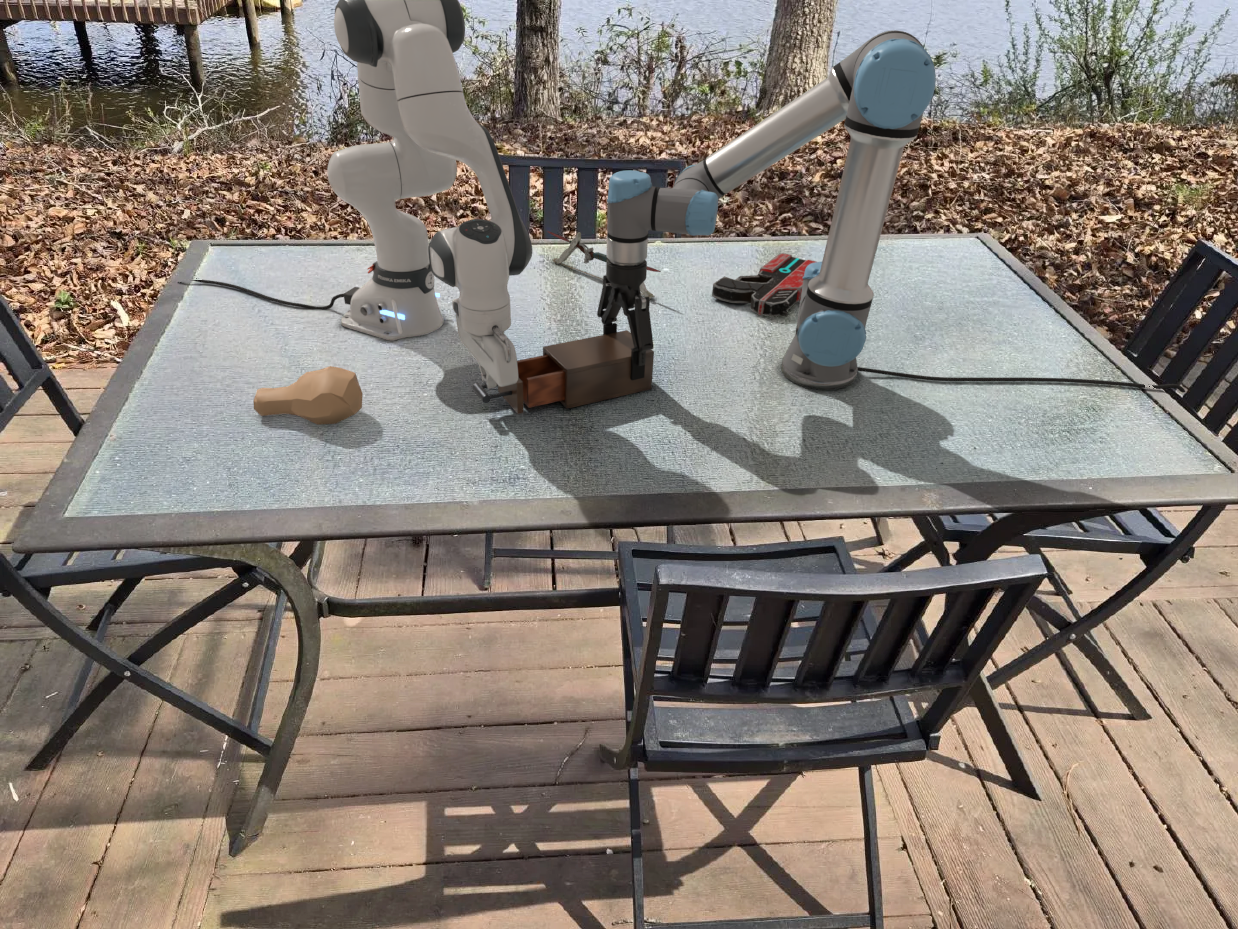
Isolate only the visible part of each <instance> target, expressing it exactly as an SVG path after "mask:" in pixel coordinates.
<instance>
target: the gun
mask: <svg viewBox="0 0 1238 929" xmlns="http://www.w3.org/2000/svg"><path fill="white" fill-rule="evenodd" d="M815 262H817V261H816V260H812V259H802V258H799V257H795V256H793V255H792V254H791V253H784V252H780V253H778V254H777V255H775V256H774V257H773V258H771V259H770V260H768V261H767V262H766V263H765V264H763V265H762V266H761V267H760V269H759V271H758V273H757V274H756V275H753V274H752V275H751V274H750V275H740V276H738V277H737V278H735V279H734V278H731V277H727V276H722V277H720V279H717V281H715V282H713V283H712V291H711V297H713V298H714V299H716V300H719V301H723V302H727V303H730V304H750V305H749V308H750V310H751V312H753V313H755V314H757V315H758V316H760V317H761V316H765V317H770V318H771V317H777V316H780V317H784V318H787V317H788V315H789V311H788V310H790V309H791V308H792V307H793V306H794V305H795V304H798V303H800V299H801V293H802V286H803V276H804V273H805V269H806V267H807V266H808V265H809V264H811V263H815Z"/></svg>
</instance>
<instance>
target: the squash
mask: <svg viewBox="0 0 1238 929" xmlns="http://www.w3.org/2000/svg"><path fill="white" fill-rule="evenodd" d="M255 392H256V393H255V394H254V398H253V400H252V401H253V410H254V411H255V412H256V413H257V414H259V416H261V417H263V416H264V417H265V416H273V415H292V416H298V417H299V418H302V419H304V420H306V421H308V422H311V423H313V424H315V425H317V426H319V425H337V424H339V423H340V422H342V421H345V420H346V419H349V418H350V417H352V416H354V415H356V414H357V413H358V412H359V411H360V410H361V409H362V408H363V391H362V388H361V386H360V383H359V380H358V377H357V373H356V372H354V371H352V370H348V369H345V368H343V367H337V366H332V365H329V366H326V367H323V368H320V369H317V370H312V371H311V370H310V371H306V372H305V373H303V374H302V375H300V376H298V379H297V380H296V381H295V382H293V383H291V384H289V385H288V386H280V387H273V388H272V387H260V388H257V389H256V391H255Z"/></svg>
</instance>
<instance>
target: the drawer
mask: <svg viewBox="0 0 1238 929" xmlns="http://www.w3.org/2000/svg"><path fill="white" fill-rule="evenodd" d="M517 365H518V381H517V383H515V384H512V385H508V386H503V387H500V386H498V385H497V386H496V387H497V392H498V393H494V394H493V393H492V394H489V393H488V392H487V391H486V389H488V387H487V386H486V385H485V384H480V383H479V382H476V383H473V384H472V386H471V389H472V392H474V394H476V396H477V397H478V399H479V400H480V401H481V402H482V403H483V404H489V403H490V402H491V401H492V400H494V399H499V398H503V399H504V400H505V401H506V402H507V404H508V405H509V406H510V407H511V408H512V410H514V412H515V413H516V414H517V415H519V414H524V412H525V410H524V409H525V408H524V404H525V405H526V407H527V408H528V409H530V408H534V407H539V406H544V405H548V404H552V403H557V402H560V401H562V400H565V371H564V370H563V369H562V368H561V367H560V366H558V365H557V364H556V363H555V362H554V361H553V360H552V359H551V358H550V357H549V356H548V355H543V354H542V355H538V356H533V357H528V358H523V359H519V360H518V359H517Z"/></svg>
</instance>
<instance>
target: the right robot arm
mask: <svg viewBox="0 0 1238 929" xmlns="http://www.w3.org/2000/svg"><path fill="white" fill-rule="evenodd" d="M936 83H937V75H936V69H935V65H934V62H933V60H932V58H931V56H930V54H929V53H928V51H927V50H926V49H925V48H924V45H923V44H922V42H921V41H920V40H919V39H918V38H917V37H915V35H913V34H911V33H909V32H907V31H904V30H897V29H896V30H895V29H893V30H887V31H882V32H880V33H878V34H875V35H873V36H872V37H871V38H870V39H868V40H867V41H865V42H864V43H863V44H862V45H860V46H859V47H857V49H856V50H854V51H853V52H851V53H850V54H849V55H847V56H846V57H845V58H843V59H842V60H841V61H839V62H838V63H836V64H835V65H833V66H832V67H831V68H830V72H829V74H828V77H827V78H824V79H823V80H822V81H820V82H819V83H817V84H816V85H814V86H813V87H811V88H809V89H808V90H807V91H805V92H804V93H802V94H800V95H799V96H798V97H796V98H794V99H793V100H792V101H790V102H788V103H787V104H785V105H784V106H783V107H780V108H779V109H778V110H776V111H775V112H774V113H772V114H771V115H769V116H767V117H766V118H764V119H763V120H761V121H760V122H758V123H756V124H755V125H754V126H752V127H750V128H749V129H748V130H746V131H745V132H742V134H740V135H739V136H737V137H735V138H734V139H733V140H731V141H730V142H728V143H727V144H725V145H723V146H722V147H721V148H719V149H717V150H716V151H715V152H713V153H711V154H710V155H708V156H707V157H706V158H704V159H703V160H701V161H699V162H698V163H696V164H691V165H688V166H687V167H685V168H684V169H683V170H682V171H680V173H679V174H678V176H677V177H676V178H675V180H674V184H673V186H672V187H661V186H660V187H659V186H655V185H654V186H653V183H652V177H651V176H650V174H648V173H646V172H644V171H639V170H634V169H633V170H631V169H630V170H620V171H617V172H615V173H613V174H612V175H611V176H610V177H609V179H608V180H609V182H608V193H607V199H606V203H607V204H606V205H607V216H606V218H607V223H606V224H607V227H606V228H607V230H606V231H607V232H606V253H605V255H606V257H607V258H608V259H607V261H606V262H605V263H606V264H605V274H604V275H603V276H602V279H603V280H602V289H601V292H600V293H601V294H600V297H599V303H598V306H597V307H598V309H597V311H596V315H597V317H598V318H601V324H602V325H603V327H602V335H605V334H610V333H616V332H618V324H617V322H618V321H619V320H618V318H617V317H618V315H619V313H620V311H621V309H622V312H623V315H624V316H625V317H626V318H627V322H628V323H627V324H628V327H629V332H630V333H631V336H632V340H633V344H634V348H632V349H631V374H630V379H631V380H637V379H641V378H644V374H645V361H646V351H647V350H654V338H653V331H652V321H651V313H650V303H651V299H650V298H649V297H645V296H643V295H642V292H641V291H640V285H641V284H642V283H643V282H644V283H645V281H646V279H647V273H648V272H647V271H648V270H647V266H648V261H647V260H646V259H647V258H648V245H649V231H652V232H663V233H672V234H681V235H690V236H693V237H696V236H711V235H713V233H714V232H715V231H716V226H717V225H716V224H717V218H718V212H719V211H718V209H719V200H720V199H721V198H723V197H724V196H726V195H727V194H728V193H730V192H732V191H733V190H735V189H736V188H738V187H740V186H741V185H743V184H744V183H746V182H748V181H749V180H751V179H752V178H754V177H756V176H757V175H759V174H760V173H762V172H764V171H765V170H767V169H769V168H770V167H771V166H773V165H775V164H776V163H779V161H781V160H782V159H784V158H786V157H787V156H789V155H791V154H792V153H794V152H795V151H797V150H799V149H800V148H802V147H804V146H805V145H807V144H808V143H810V142H811V141H813V140H815V139H817V138H818V137H819V136H821V135H823V134H824V133H826V132H828V131H829V130H830V129H832V128H833V127H835V126H837V125H838V124H840V123H842V122H843V121H844V125H843V126H844V129H845V130H846V132H847V133H848V134H849V136H850V142H849V144H848V149H847V153H846V158H845V162H844V166H843V171H842V175H841V179H840V183H839V188H838V192H837V197H836V201H835V205H834V209H833V214H832V217H831V222H830V226H829V230H828V235H827V240H826V245H825V249H824V253H823V256H822V261H816V262H815V263H811V264H809V265H808V266H807V267H806V269H805V273H804V276H803V286H802V293H801V299H800V301H799V305H798V306H799V307H798V313H797V320H796V326H795V333H794V336H793V338H792V339H791V342H790V344H789V345H788V347H787V349H786V351H785V353H784V355H783V357H782V360H781V365H780V366H781V368H780V369H781V373H782V375H783V376H784V377H785V378H786V379H787V380H789V381H791V382H792V383H794V384H796V385H799V386H801V387H804V388H808V389H813V390H819V391H820V390H821V391H831V390H832V391H833V390H841V389H844V388H847V387H849V386H851V385H853V384H854V383H855V381H856V379H857V375H858V372H864V373H872V374H880V375H886V376H892V377H900V378H906V379H907V378H908V379H914V380H923V381H936V382H1041V383H1042V382H1043V383H1044V382H1045V383H1046V382H1047V383H1074V384H1075V383H1076V384H1093V385H1106V386H1107V385H1108V386H1119V387H1120V386H1121V387H1130V388H1141V389H1146V388H1145V385H1144V384H1145V383H1135V382H1127V381H1116V380H1115V381H1113V380H1104V379H1103V380H1101V379H1087V378H1086V379H1085V378H1067V377H1066V378H1065V377H952V376H951V377H948V376H947V377H945V376H930V375H920V374H913V373H906V372H905V373H904V372H898V371H889V370H883V369H877V368H875V369H874V368H868V367H860V366H858V362H857V357H858V356H859V355H860V354H861V352H863V348H864V346H865V343H866V341H867V331H866V326H867V321H868V319H869V314H870V311H871V307H872V304H873V299H874V296H875V294H874V291H873V289H872V287H870V285H869V281H870V278H871V273H872V270H873V265H874V261H875V259H876V254H877V251H878V247H879V242H880V239H881V235H882V231H883V227H884V225H885V220H886V217H887V214H888V213H887V212H888V209H889V205H890V202H891V197H892V194H893V190H894V187H895V183H896V179H897V175H898V173H899V168H900V163H901V160H902V156H903V153H904V149H905V147H906V145H908V144H909V143H911V142H913V140H915V139H916V138H917V137H918V134H919V130H920V127H921V123H922V121H923V120H922V119H923V116H924V113H925V111H926V109H928V107H929V105H930V103H931V101H932V99H933V97H934V93H935V89H936ZM1151 385H1152V386H1153V387H1154V388H1156V389H1154V388H1153V389H1152V390H1162V389H1176V390H1178V391H1179V392H1181V393H1186V390H1185V389H1184V387H1182V386H1181V385H1179V384H1178V383H1177V384H1176V383H1166V384H1151ZM1149 387H1150V386H1149ZM1118 560H1120V561H1122V560H1123V557H1119V558H1118Z"/></svg>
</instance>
